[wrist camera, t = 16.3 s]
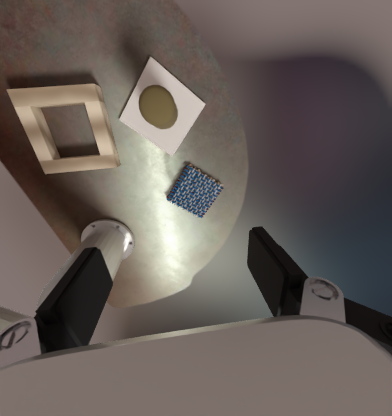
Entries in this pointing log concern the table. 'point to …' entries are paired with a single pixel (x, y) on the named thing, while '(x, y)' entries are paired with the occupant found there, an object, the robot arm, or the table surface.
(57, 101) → the wooden holder
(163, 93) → the cork
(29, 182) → the table surface
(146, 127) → the ceramic tile
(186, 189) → the woven mat
